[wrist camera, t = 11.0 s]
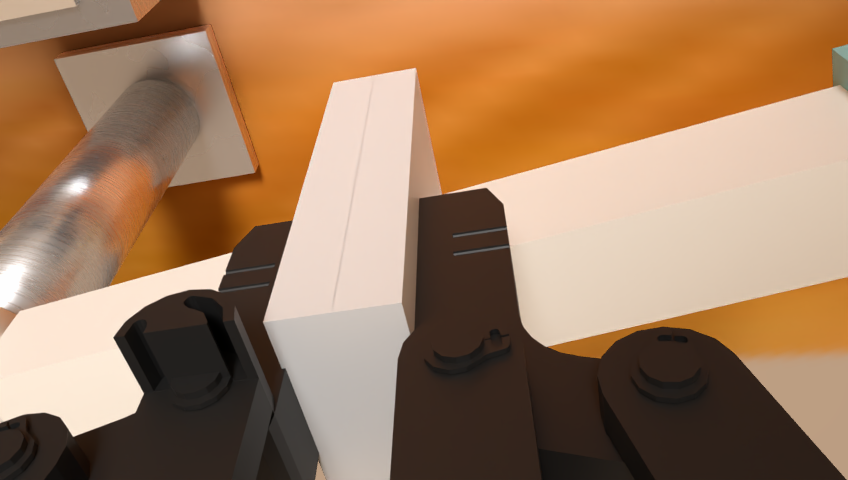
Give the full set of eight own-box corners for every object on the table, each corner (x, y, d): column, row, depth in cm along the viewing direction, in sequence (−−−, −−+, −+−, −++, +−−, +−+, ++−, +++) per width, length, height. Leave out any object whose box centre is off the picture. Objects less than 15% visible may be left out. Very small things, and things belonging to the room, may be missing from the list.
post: (62, 52, 29) (-205, 276, 17) (210, 24, 28) (44, 236, 16) (124, 186, 32) (-63, 454, 20) (259, 163, 32) (150, 427, 20)
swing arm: (-37, 439, 20) (-105, 540, 17) (-157, 313, 17) (-256, 410, 15) (993, 188, 15) (1102, 276, 13) (1014, -26, 13) (1153, 31, 10)
